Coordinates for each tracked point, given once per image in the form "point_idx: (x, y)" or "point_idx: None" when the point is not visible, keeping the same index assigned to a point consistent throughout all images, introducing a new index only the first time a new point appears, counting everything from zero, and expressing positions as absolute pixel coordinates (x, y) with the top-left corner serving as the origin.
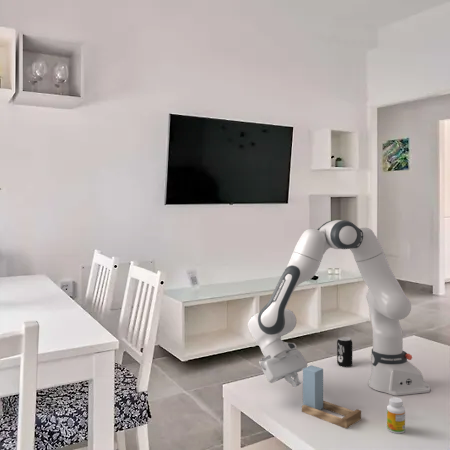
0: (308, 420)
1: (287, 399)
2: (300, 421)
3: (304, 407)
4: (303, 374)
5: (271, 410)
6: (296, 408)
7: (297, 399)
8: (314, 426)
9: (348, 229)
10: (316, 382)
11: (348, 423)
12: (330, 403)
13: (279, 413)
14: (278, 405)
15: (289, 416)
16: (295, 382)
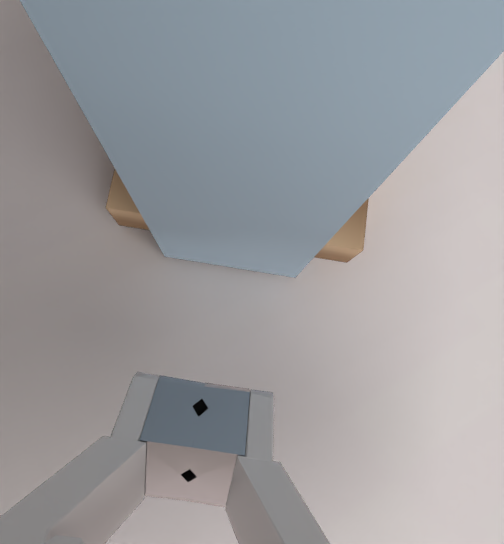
0: (446, 152)
1: (185, 521)
2: (500, 194)
3: (365, 221)
4: (482, 55)
5: (498, 510)
6: (317, 335)
7: None
8: (497, 80)
9: None
10: None
11: None
12: None
13: (498, 410)
14: (365, 517)
15: (487, 307)
16: (246, 422)
